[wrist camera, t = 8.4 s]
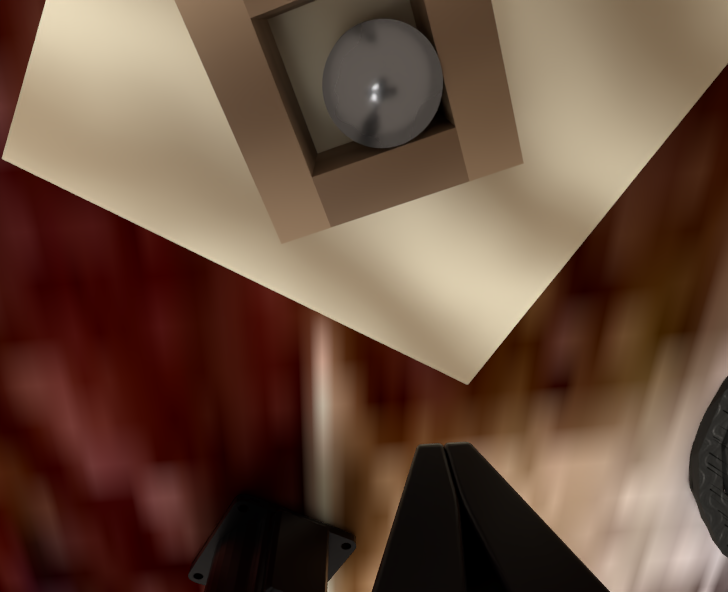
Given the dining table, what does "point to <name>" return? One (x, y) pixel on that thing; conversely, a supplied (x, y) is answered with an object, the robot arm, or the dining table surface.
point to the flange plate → (353, 160)
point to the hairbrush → (712, 468)
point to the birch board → (305, 70)
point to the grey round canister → (382, 83)
